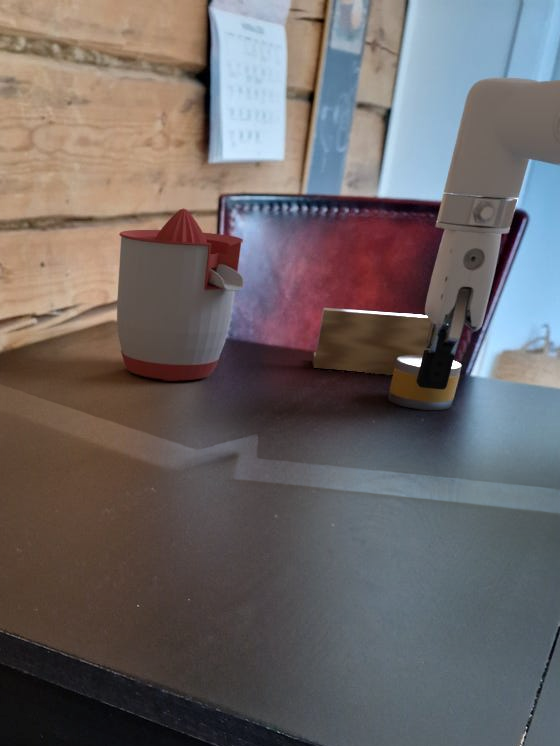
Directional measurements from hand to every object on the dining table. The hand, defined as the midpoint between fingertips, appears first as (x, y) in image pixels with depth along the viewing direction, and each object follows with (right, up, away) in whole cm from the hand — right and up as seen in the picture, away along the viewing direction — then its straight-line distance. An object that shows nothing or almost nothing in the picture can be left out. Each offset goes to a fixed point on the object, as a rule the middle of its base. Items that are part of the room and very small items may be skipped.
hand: (430, 386), depth 102 cm
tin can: (+1, 0, +6) cm, 6 cm away
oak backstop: (+1, +9, +22) cm, 23 cm away
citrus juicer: (-29, +6, +14) cm, 33 cm away
